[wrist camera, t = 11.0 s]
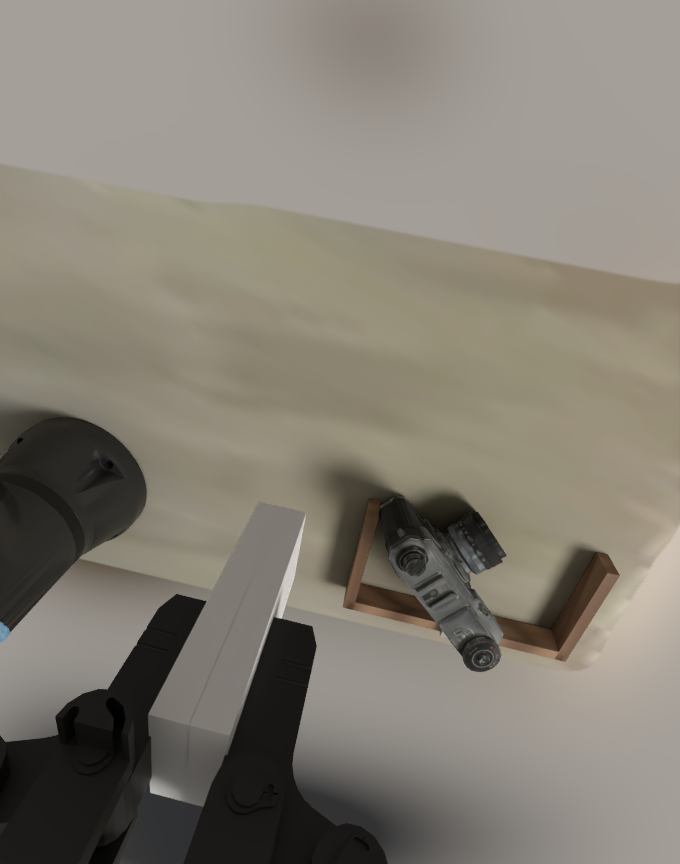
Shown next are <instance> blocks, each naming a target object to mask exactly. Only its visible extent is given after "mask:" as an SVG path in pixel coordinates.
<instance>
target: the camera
mask: <svg viewBox="0 0 680 864" xmlns="http://www.w3.org/2000/svg"><path fill="white" fill-rule="evenodd" d="M379 517H380V520H381V524H382V528H383V532H384V536H385V540H386V543H385V546H386V549H387V551H388V557H389V560H390V562H391V564H392V567H393V569H394V570H395V572H396V574H397V575H398V576H399V578H402V579H403V581H404V582H405V583H406V584H407V586H408V587H409V588H410V590H411V591H412V592H413V594H414V595H415V596H416V597H417V599H418V600H419V601H420V603H421V604H422V605H423V607H424V608H425V609H426V610H427V612H428V613H429V614H430V616H431V617H432V618H433V619H434V621H435V622H436V623H437V625H438V626H439V627H440V628H441V630H442V631H443V632H444V634H445V635H446V636H447V637H448V639H449V640H450V642H451V643H452V644H453V645H454V647H455V648H456V649H457V650H458V652H459V653H460V654H461V655H462V657H463V661H464V664H465V665H466V667H467V668H469V669H470V670H472V671H476V672H484V671H487V670H490V669H492V668H493V667H495V666H496V665H497V664H498V662H499V661H500V658H501V652H500V649H499V646H498V644H500V643H501V640H502V637H503V634H504V633H503V632H502V629H501V627H500V625H499V624H498V622H497V620H496V619H495V618H494V616H493V615H492V613H491V612H490V611H489V610H488V608H487V607H486V605H485V604H484V602H483V601H482V600H481V598H480V597H479V595H478V594H477V592H476V591H475V590H474V589H471V586H470V583H469V582H470V576H469V573H470V572H471V571H472V572H473V573H475V574H476V575H478V574H480V573H481V572H482V571H484V570H485V569H490V568H492V567H495V566H496V565H498V564H500V563H502V560H501V558H503V557H505V556H507V555H506V554H505V552H504V551H503V549H502V548H501V546H500V545H499V543H498V541H497V540H496V538H495V537H494V535H493V534H492V532H491V531H490V529H489V528H488V526H487V524H486V523H485V521H484V520H483V518H482V517H481V516H480V514H479V513H478V512H476V513H474V514H473V515H471V513H470V512H469V513H468V514H466V515H464V516H463V517H461V518H460V519H459V520H457V521H456V523H455V524H452V525H450V526H448V527H447V531H448V533H447V534H444V533H442V532H441V531H440V530H438V529H436V531H435V529H434V528H433V527H432V525H431V524H430V523H429V521H428V520H427V519H425V520H422V518H421V517H420V515H419V514H418V513H417V511H416V510H415V508H414V507H413V506H412V504H411V503H410V502H409V501H408V500H407V499H406V498H405V497H404V496H399V495H395V496H393V497H392V498H391V499H389V500H388V501H386V502H385V503H383V504H382V505H380V509H379Z"/></svg>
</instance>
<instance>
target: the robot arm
mask: <svg viewBox="0 0 680 864" xmlns="http://www.w3.org/2000/svg"><path fill="white" fill-rule="evenodd" d="M145 503H146V484H145V480H144V477H143V474H142V471H141V469H140V467H139V465H138V464H137V462H136V460H135V459H134V457H133V456H132V455H131V453H130V452H129V451H128V450H127V449H126V448H125V447H124V446H123V445H122V444H121V443H120V442H119V441H118V440H117V439H116V438H114V437H113V436H112V435H110V434H109V433H107V432H106V431H104V430H102V429H101V428H99V427H97V426H95V425H92V424H90V423H87V422H84V421H81V420H77V419H71V418H54V419H49V420H45V421H43V422H41V423H39V424H37V425H35V426H34V427H32V428H30V429H28V430H27V431H25V432H24V433H22V434H21V435H20V436H19V437H18V438H17V439H16V440H15V441H14V442H13V443H12V445H11V446H10V448H9V450H8V451H7V452H6V453H5V454H4V456H3V457H2V458H1V459H0V643H1V642H2V641H4V640H5V639H6V638H7V637H8V636H9V634H10V632H11V631H12V630H13V629H14V628H15V626H16V625H17V624H18V623H19V622H20V621H21V620H22V619H23V618H24V617H25V615H27V613H28V612H29V611H30V610H31V609H32V608H33V607H34V606H35V605H36V604H37V603H38V602H39V600H40V599H41V598H42V597H43V596H44V595H45V594H46V593H47V592H48V591H49V590H50V589H51V587H52V586H53V585H54V584H55V583H56V582H57V581H58V580H59V579H60V578H61V576H63V574H64V573H65V572H66V571H67V570H68V569H69V568H70V567H71V566H72V565H73V564H74V563H75V562H76V561H77V560H78V559H79V557H80V556H82V555H83V554H85V553H87V552H89V551H90V550H92V549H94V548H95V547H97V546H99V545H100V544H102V543H104V542H105V541H109V540H112V539H114V538H116V537H118V536H119V535H121V534H122V533H124V532H125V531H126V530H127V529H128V528H129V527H130V526H131V525H132V524H133V523H134V522H135V520H136V519H137V518H138V517H139V516H140V514H141V513H142V511H143V509H144V506H145ZM305 517H306V513H305V512H301V511H297V510H293V509H288V508H284V507H280V506H276V505H271V504H267V503H263V502H259V501H258V503H257V505H256V507H255V509H254V511H253V513H252V515H251V517H250V519H249V521H248V523H247V525H246V527H245V528H244V530H243V532H242V534H241V536H240V538H239V540H238V542H237V544H236V546H235V548H234V550H233V552H232V554H231V556H230V557H229V559H228V561H227V563H226V565H225V567H224V569H223V571H222V573H221V575H220V577H219V579H218V581H217V583H216V584H215V586H214V588H213V590H212V592H211V594H210V596H209V598H208V600H207V601H203V600H199V599H194V598H191V597H186V596H182V595H178V594H176V595H175V596H174V597H172V598H171V599H170V600H168V601H167V602H166V603H165V604H163V605H162V606H161V607H160V608H159V609H158V610H157V612H156V613H155V615H154V617H153V618H152V620H151V621H150V623H149V624H148V626H147V629H146V631H144V632H143V634H142V636H141V637H140V639H139V640H138V642H137V645H136V646H135V647H134V648H133V650H132V652H131V653H130V655H129V657H128V658H127V659H126V661H125V663H124V664H123V666H122V668H121V669H120V671H119V672H118V674H117V675H116V677H115V679H114V680H113V682H112V683H111V685H110V687H109V688H108V690H107V689H98V690H94V691H91V692H87V693H84V694H82V695H80V696H78V697H77V698H75V699H74V700H72V701H71V702H69V703H67V704H66V706H65V707H64V708H63V709H62V710H61V711H60V712H59V713H58V714H57V715H56V723H57V728H58V733H59V735H56V736H52V737H47V738H41V739H31V740H22V741H12V742H5V741H4V740H3V738H2V737H1V736H0V864H119V863H120V861H121V858H122V856H123V854H124V852H125V849H126V847H127V845H128V843H129V840H130V838H131V836H132V833H133V831H134V828H135V825H136V821H137V817H138V806H139V804H140V801H141V800H142V797H143V795H144V793H145V791H146V789H147V786H148V784H149V782H150V793H154V794H157V795H161V796H165V797H169V798H172V799H176V800H180V801H184V802H187V803H191V804H195V805H198V806H202V807H203V809H202V812H201V815H200V818H199V821H198V824H197V827H196V829H195V832H194V835H193V838H192V841H191V844H190V847H189V850H188V853H187V855H186V858H185V861H184V864H388V863H387V860H386V856H385V853H384V851H383V849H382V848H381V846H380V845H379V843H378V842H377V840H376V838H375V837H374V836H373V835H372V834H370V833H369V832H368V831H366V830H365V829H364V828H362V827H361V826H357V825H352V824H348V823H346V824H342V825H339V826H336V825H335V824H333V823H332V822H331V821H329V820H328V819H327V818H325V817H324V816H323V815H321V814H320V813H319V812H317V811H316V810H315V809H313V808H312V807H311V806H310V805H309V804H308V803H307V802H306V801H305V800H304V798H303V797H302V795H301V794H300V792H299V790H298V788H297V786H296V783H295V780H294V776H293V768H292V762H293V753H294V748H295V744H296V739H297V734H298V730H299V725H300V720H301V716H302V711H303V707H304V702H305V697H306V693H307V688H308V683H309V679H310V674H311V670H312V665H313V660H314V656H315V651H316V641H315V637H314V632H313V627H312V626H309V625H305V624H300V623H297V622H292V621H288V620H284V619H281V618H282V615H283V612H284V609H285V606H286V603H287V599H288V596H289V593H290V590H291V587H292V584H293V580H294V577H295V571H296V566H297V560H298V555H299V550H300V544H301V539H302V533H303V528H304V522H305Z"/></svg>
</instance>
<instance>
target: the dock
mask: <svg viewBox="0 0 680 864" xmlns="http://www.w3.org/2000/svg"><path fill="white" fill-rule="evenodd" d="M379 509H380V501H375V500H371V499H369V502H368V506H367V510H366V513H365V517H364V521H363V525H362V529H361V533H360V537H359V540H358V544H357V548H356V552H355V556H354V560H353V564H352V568H351V571H350V575H349V579H348V583H347V587H346V592H345V598H344V604H343V607H344V608H348V609H352V610H356V611H360V612H364V613H368V614H372V615H377V616H381V617H385V618H389V619H393V620H397V621H401V622H405V623H409V624H413V625H417V626H421V627H426V628H430V629H434V630H438V631H440V637H442V638H446V639H448V637H447V636H446V635H445V634H444V632H443V631H442V630H441V628H440V627H439V626H438V625H437V623H436V622H435V621H434V619H433V618H432V617H431V616H430V614H429V613H428V612H427V610H426V609H425V608H424V607H423V605H422V604H421V603H420V601H419V600H418V599H417V597H414V596H410V595H406V594H402V593H398V592H394V591H390V590H386V589H381V588H377V587H373V586H369V585H365V584H361V580H362V576H363V573H364V569H365V565H366V562H367V558H368V555H369V551H370V547H371V544H372V540H373V537H374V533H375V529H376V526H377V522H378V518H379ZM619 576H620V575H619V573H618V572H617V570H616V568H615V566H614V565H613V563H612V561H611V559H610V557H609V556H608V555H606V554H602V553H598V552H596V554H595V556H594V558H593V559H592V561H591V563H590V564H589V566H588V568H587V570H586V571H585V573H584V575H583V576H582V578H581V580H580V582H579V583H578V585H577V587H576V588H575V590H574V592H573V594H572V595H571V597H570V599H569V600H568V602H567V604H566V606H565V607H564V609H563V611H562V612H561V614H560V616H559V618H558V619H557V621H556V623H555V624H554V626H553V628H552V630H551V629H547V628H542V627H538V626H534V625H530V624H526V623H522V622H518V621H514V620H509V619H505V618H501V617H497V616H494V618H495V619H496V620H497V622H498V624H499V625H500V627H501V629H502V632H503V633H504V634H503V637H502V640H501V643H500V644H498V645H499V646H503V647H507V648H511V649H515V650H519V651H524V652H528V653H532V654H536V655H540V656H544V657H548V658H552V659H556V660H560V661H564V662H565V661H566V660H567V658H568V657H569V655H570V653H571V652H572V650H573V649H574V647H575V646H576V644H577V642H578V641H579V639H580V638H581V636H582V635H583V633H584V631H585V630H586V628H587V627H588V625H589V623H590V622H591V620H592V619H593V617H594V616H595V614H596V612H597V611H598V609H599V608H600V606H601V605H602V603H603V601H604V600H605V598H606V597H607V595H608V594H609V592H610V590H611V589H612V587H613V586H614V584H615V582H616V581H617V579H618V578H619Z"/></svg>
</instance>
